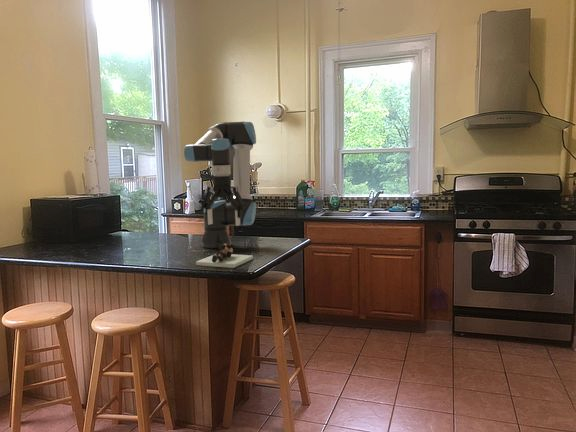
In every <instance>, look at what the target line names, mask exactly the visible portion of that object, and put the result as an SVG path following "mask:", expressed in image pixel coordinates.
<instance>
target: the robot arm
mask: <svg viewBox="0 0 576 432" xmlns="http://www.w3.org/2000/svg"><path fill="white" fill-rule="evenodd" d="M255 144H257V135H256V130H255V126H254V124H253V122H252V121H225V122H220V123H217V124H214V125H212V126H210V127H209V128H208V129H207V130H206V131H205V133H204V135H203V136H202V137H201V138H200V139H199V140H197V142H196V143H195V144H186V145H184V149H183V155H184V156H183V157H184V160H185V161H186V162H191V163H192V162H193V163H195V162H196V163H197V162H211V164H212V175H213V177H212V184H213V186H207V188H206V194H205V196H204V199H203V201H202V204H201V209H203V211H202V212H203V225H204V227H203V228H204V230H203V231H204V233H203V236H202V239H201V247H202V248H206V249H219V246H221V245H223V244H228V245H229V246H230V247H231V246H232V240H231V237H230V235H229V232H228V226H236V227H238V226H251V225H253V224H254V222H255V219H256V214H257V213H256V212H257V205H256V204H257V203H255V202H254V201H253V200H254V199H253V198H252V196H251V194H250V193H251V150H253V149H254V145H255ZM232 160H233V163H232V165H233V166H232V167H233V170H231V161H232ZM231 171H233V178H231V177H232V176H230V175H231V173H232V172H231ZM232 179H233V183H232ZM232 184H233V185H232ZM212 194H213V195H212ZM211 196H212V197H211ZM218 198H227V199H228V201H230V202H227V201H226V199H223V200H222V199H221V200H218Z"/></svg>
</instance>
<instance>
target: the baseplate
mask: <svg viewBox="0 0 576 432" xmlns="http://www.w3.org/2000/svg"><path fill="white" fill-rule="evenodd" d="M216 254H217V253H214V254H213V255H216ZM213 255H210V256H207V257H204V258H202V259H200V260H196V261H195V265H196V266H200V267H201V266H203V267H214V268H215V267H217V268H218V267H219V268H230V269H234V268H237V267H239V266H241V265H243V264H245V263H247V262H250V261H251V260H253V259H254V255H251V254H250V255H248V254H234V253H232V255H231V257H227V256H226V259H223V261H222V262H220V261H219V260H218V259H217V261H216V262H215V263H214V262H212V257H213Z"/></svg>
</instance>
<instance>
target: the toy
mask: <svg viewBox="0 0 576 432" xmlns="http://www.w3.org/2000/svg"><path fill="white" fill-rule="evenodd" d="M233 252H234V248H233V247H232V246H231V245H230V246H229V245H228V244H223V245H221V246H219V248H218V252H217V253H215V254H216V255H215V254H213V257H212V262H214V263H215V262H216V261H217V259H218V260H219V261H220V262H222V261H223V259H226V256H227V257H231V255H232V254H233Z"/></svg>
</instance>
